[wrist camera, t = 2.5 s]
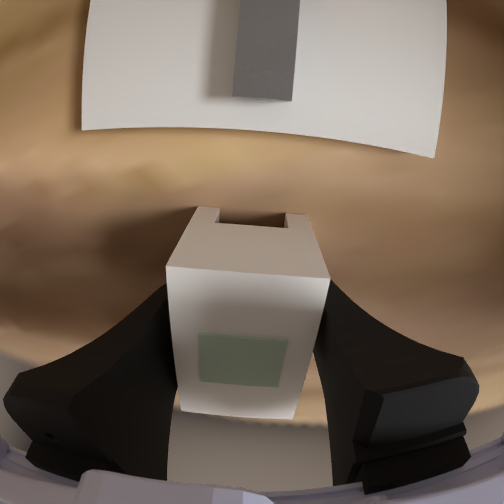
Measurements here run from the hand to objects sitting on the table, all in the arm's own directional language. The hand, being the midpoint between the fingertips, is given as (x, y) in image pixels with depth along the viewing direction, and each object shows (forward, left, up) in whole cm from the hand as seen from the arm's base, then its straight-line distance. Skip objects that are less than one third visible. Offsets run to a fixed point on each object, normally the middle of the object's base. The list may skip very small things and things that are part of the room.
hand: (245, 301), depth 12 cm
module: (0, 0, -2) cm, 2 cm away
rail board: (0, -16, -1) cm, 16 cm away
